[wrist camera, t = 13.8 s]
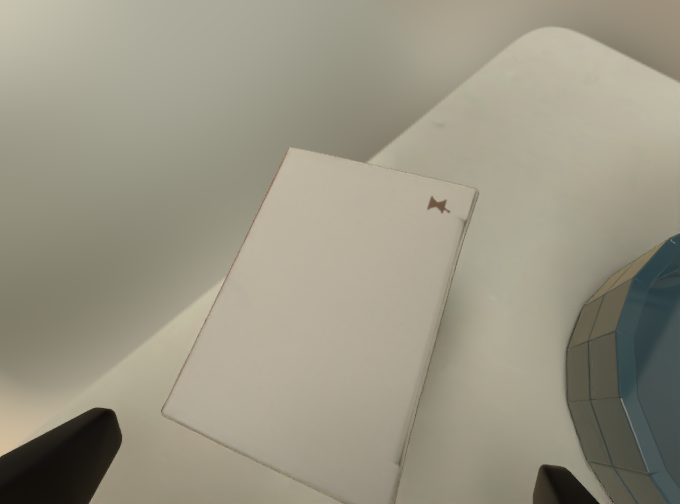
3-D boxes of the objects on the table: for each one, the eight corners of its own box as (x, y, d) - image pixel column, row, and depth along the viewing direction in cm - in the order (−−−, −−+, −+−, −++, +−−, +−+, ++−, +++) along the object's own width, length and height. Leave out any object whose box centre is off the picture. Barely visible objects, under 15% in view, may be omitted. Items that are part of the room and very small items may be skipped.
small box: (337, 266, 21) (288, 136, 11) (440, 297, 19) (485, 179, 10) (278, 416, 18) (147, 415, 8) (392, 466, 17) (388, 531, 7)
